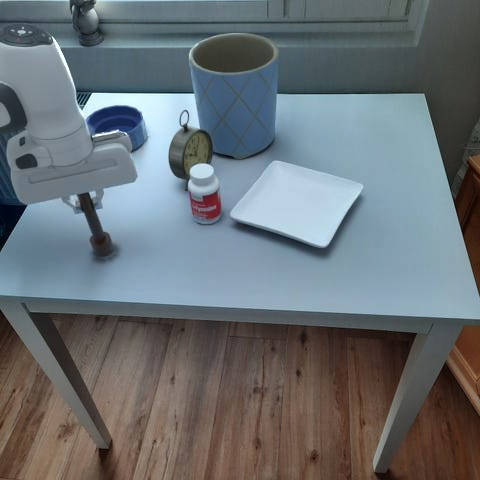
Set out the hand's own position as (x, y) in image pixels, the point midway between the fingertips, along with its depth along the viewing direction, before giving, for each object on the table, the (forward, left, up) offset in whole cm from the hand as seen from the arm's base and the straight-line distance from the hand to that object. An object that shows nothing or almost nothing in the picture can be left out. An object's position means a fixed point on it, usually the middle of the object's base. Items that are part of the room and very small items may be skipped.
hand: (88, 209), depth 85 cm
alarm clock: (+22, +16, -10) cm, 29 cm away
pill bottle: (+22, +3, -10) cm, 24 cm away
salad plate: (+40, -2, -10) cm, 41 cm away
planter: (+36, +28, -10) cm, 47 cm away
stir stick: (0, 0, -10) cm, 10 cm away
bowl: (+8, +38, -10) cm, 40 cm away
